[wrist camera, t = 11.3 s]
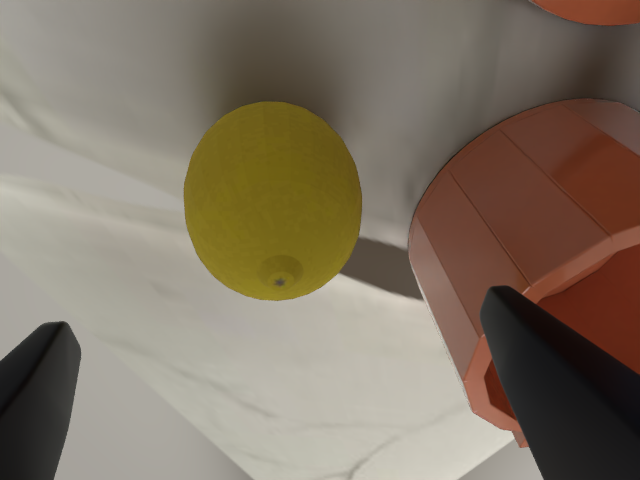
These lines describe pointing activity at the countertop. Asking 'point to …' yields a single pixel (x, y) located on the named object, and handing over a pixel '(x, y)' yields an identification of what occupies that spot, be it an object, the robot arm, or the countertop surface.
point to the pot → (535, 236)
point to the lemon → (272, 201)
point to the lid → (594, 11)
